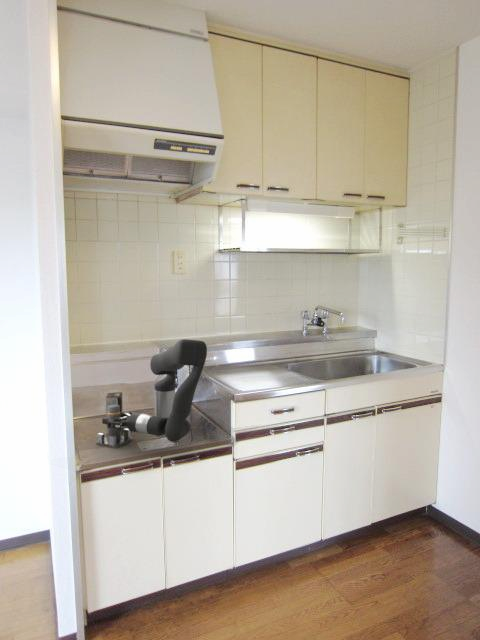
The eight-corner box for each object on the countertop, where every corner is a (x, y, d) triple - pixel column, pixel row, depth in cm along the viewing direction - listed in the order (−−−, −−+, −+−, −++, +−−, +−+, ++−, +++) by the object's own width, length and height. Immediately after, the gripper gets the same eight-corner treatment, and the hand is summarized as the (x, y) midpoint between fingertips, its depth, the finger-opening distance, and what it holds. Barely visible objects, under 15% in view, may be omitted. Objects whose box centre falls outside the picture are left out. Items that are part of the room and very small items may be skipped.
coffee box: (121, 433, 196) (120, 397, 194) (106, 434, 195) (105, 397, 193) (123, 426, 205) (122, 391, 203) (108, 427, 204) (107, 392, 202)
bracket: (113, 436, 193) (113, 425, 192) (132, 439, 189) (132, 429, 188) (95, 444, 183) (95, 433, 183) (115, 448, 179) (115, 437, 179)
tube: (113, 436, 189) (113, 404, 188) (123, 438, 187) (122, 405, 186) (105, 440, 185) (104, 407, 183) (115, 442, 183) (114, 408, 181)
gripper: (152, 409, 185) (121, 404, 192) (130, 419, 172) (97, 413, 179) (153, 427, 186) (121, 421, 193) (130, 438, 173) (98, 432, 180)
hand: (110, 417), depth 186 cm, fingers open, 8 cm apart
